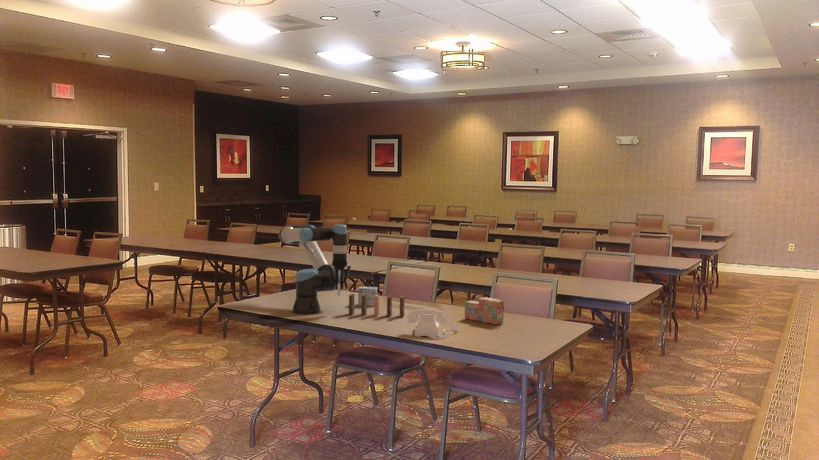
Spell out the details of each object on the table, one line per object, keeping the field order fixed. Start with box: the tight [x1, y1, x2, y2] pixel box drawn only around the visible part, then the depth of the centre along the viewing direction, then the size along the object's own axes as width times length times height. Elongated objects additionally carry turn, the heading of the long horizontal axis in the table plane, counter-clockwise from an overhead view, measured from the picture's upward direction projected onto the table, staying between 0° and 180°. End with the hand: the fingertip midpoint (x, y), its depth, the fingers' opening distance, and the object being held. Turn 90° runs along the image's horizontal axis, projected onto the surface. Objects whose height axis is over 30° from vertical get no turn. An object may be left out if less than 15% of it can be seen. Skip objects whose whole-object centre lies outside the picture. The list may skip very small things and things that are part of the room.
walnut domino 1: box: [348, 293, 355, 316], centre depth 353 cm, size 2×6×11 cm, turn 174°
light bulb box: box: [357, 286, 378, 307], centre depth 380 cm, size 11×7×11 cm, turn 84°
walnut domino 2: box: [360, 294, 368, 317], centre depth 352 cm, size 2×6×11 cm, turn 174°
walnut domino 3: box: [386, 294, 393, 318], centre depth 350 cm, size 2×6×11 cm, turn 174°
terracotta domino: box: [373, 294, 380, 317], centre depth 351 cm, size 2×6×11 cm, turn 174°
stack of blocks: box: [464, 297, 505, 326], centre depth 343 cm, size 21×6×12 cm, turn 48°
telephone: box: [407, 308, 460, 340], centre depth 310 cm, size 25×21×12 cm
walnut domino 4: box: [399, 295, 406, 318], centre depth 349 cm, size 2×6×11 cm, turn 173°
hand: (339, 295), depth 353 cm, fingers closed
